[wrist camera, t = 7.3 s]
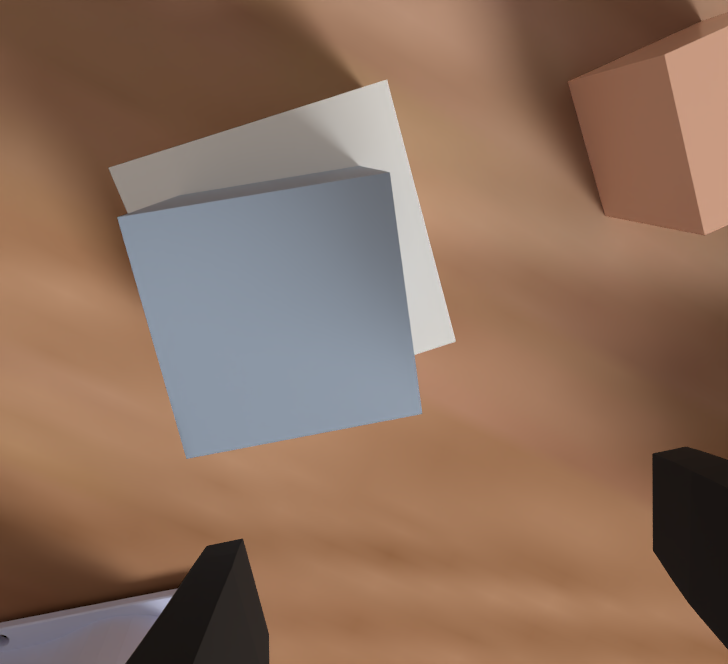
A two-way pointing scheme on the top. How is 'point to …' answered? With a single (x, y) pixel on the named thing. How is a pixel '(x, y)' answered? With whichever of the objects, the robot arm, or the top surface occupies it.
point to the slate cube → (277, 307)
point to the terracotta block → (661, 130)
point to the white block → (306, 156)
